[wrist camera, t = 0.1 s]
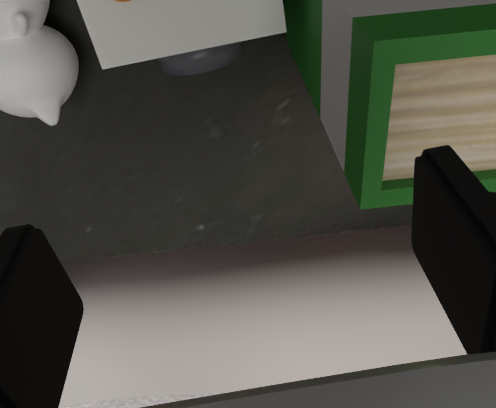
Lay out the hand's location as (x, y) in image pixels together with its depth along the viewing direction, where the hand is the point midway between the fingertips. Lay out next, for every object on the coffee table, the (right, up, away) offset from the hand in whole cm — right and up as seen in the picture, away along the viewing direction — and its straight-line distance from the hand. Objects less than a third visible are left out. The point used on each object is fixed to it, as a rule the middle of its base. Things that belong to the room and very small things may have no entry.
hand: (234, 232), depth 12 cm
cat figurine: (-16, +15, +26) cm, 35 cm away
